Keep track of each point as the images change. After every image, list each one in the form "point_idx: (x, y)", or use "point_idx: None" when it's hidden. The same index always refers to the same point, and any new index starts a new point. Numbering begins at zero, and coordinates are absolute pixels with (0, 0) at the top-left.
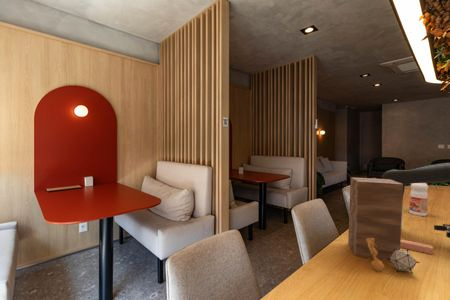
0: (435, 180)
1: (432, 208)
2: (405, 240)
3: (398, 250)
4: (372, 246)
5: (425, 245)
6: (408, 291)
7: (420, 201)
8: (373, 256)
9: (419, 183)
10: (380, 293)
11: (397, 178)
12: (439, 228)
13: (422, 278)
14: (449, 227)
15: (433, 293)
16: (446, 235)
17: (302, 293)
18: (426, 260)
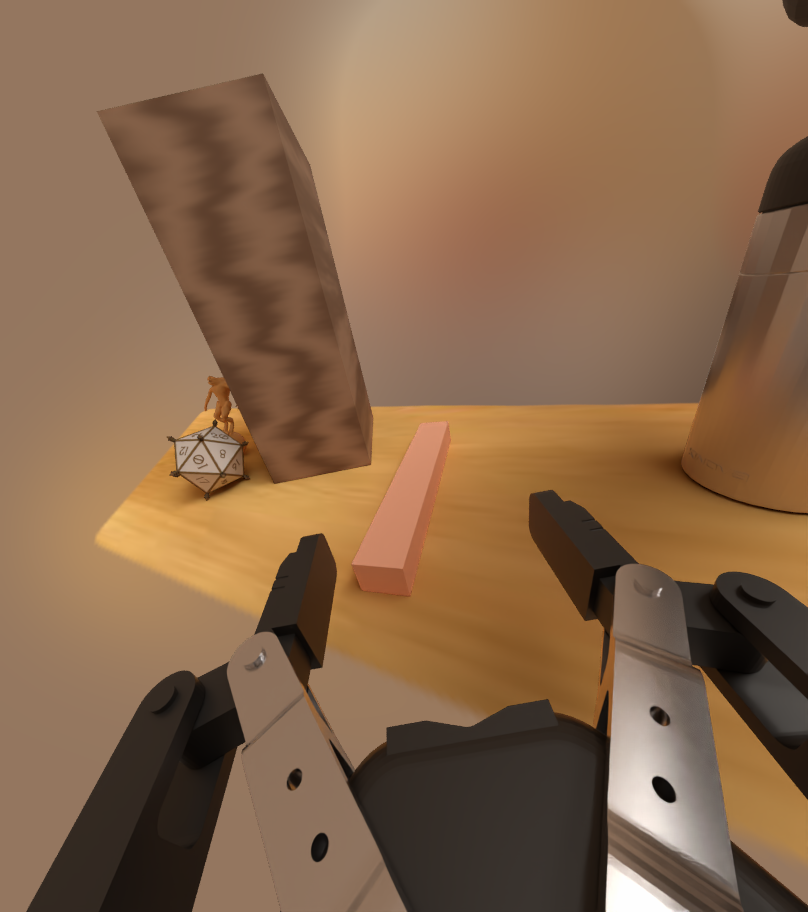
0: None
1: None
2: (424, 481)
3: (209, 429)
4: (218, 398)
5: (388, 539)
6: (146, 488)
7: None
8: (224, 421)
9: None
10: (163, 461)
11: None
12: (552, 547)
13: (177, 514)
14: (611, 635)
15: (113, 521)
16: (329, 557)
17: (198, 418)
18: (286, 547)
